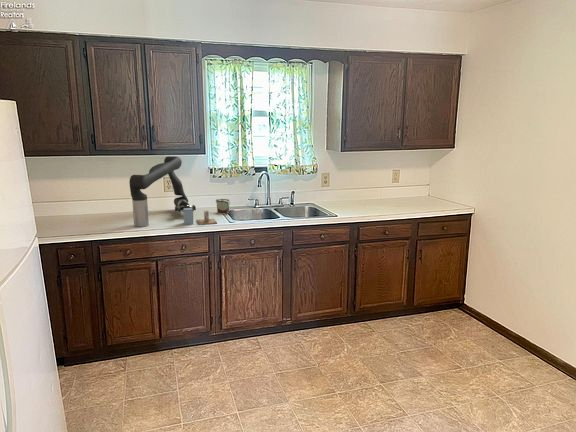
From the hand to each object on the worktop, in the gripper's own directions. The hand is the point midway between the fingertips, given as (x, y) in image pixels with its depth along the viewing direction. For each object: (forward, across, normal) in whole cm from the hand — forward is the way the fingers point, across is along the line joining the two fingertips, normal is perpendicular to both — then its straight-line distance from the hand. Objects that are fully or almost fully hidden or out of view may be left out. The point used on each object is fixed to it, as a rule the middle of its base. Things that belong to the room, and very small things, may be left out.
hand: (186, 210), depth 301 cm
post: (+12, +12, +7) cm, 18 cm away
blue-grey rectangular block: (+12, 0, +6) cm, 13 cm away
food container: (-14, +30, +7) cm, 34 cm away
